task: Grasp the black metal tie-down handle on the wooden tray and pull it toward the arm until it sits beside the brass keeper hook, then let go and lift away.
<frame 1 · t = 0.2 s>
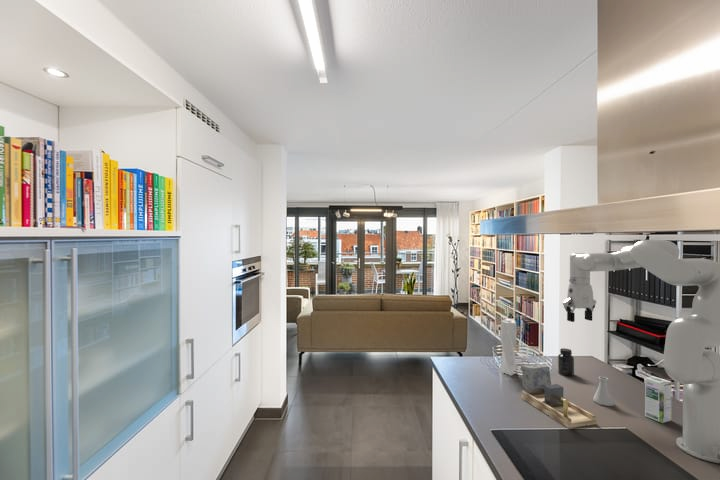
hand: (579, 320, 152), 31 cm above the kitchen island, tool pointing down, fingers open, 9 cm apart
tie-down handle: (553, 395, 136), point 5 cm above the kitchen island, slide at 0.0 cm
supplement bottle: (566, 374, 172), on the kitchen island
grey stone block: (535, 388, 155), on the kitchen island
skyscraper: (508, 373, 173), on the kitchen island
flask: (603, 403, 141), on the kitchen island
syrup box: (658, 419, 129), on the kitchen island
wooden tray: (555, 410, 135), on the kitchen island
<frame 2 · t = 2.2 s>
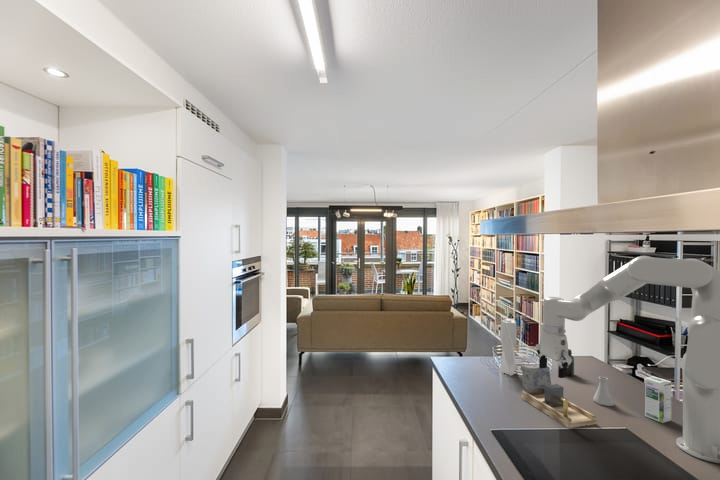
hand: (552, 372, 136), 14 cm above the kitchen island, tool pointing down, fingers open, 9 cm apart
nothing on the kitchen island moved.
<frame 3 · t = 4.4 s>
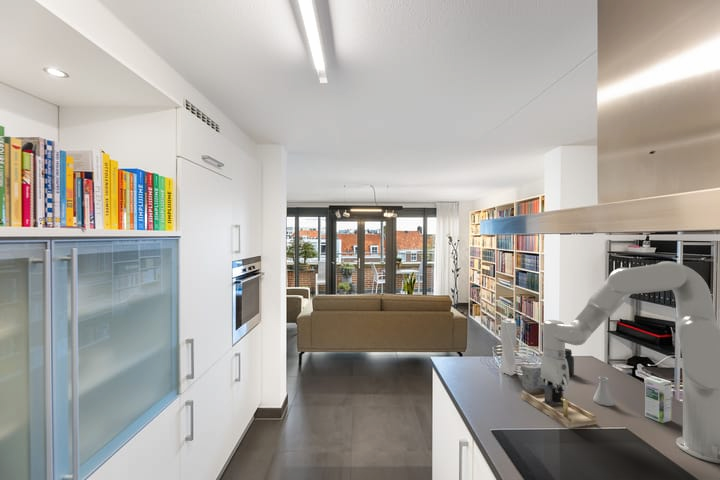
hand: (553, 399, 136), 4 cm above the kitchen island, tool pointing down, fingers closed on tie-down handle, 3 cm apart
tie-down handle: (553, 395, 136), point 5 cm above the kitchen island, slide at 0.0 cm, touching gripper
everything else where it was.
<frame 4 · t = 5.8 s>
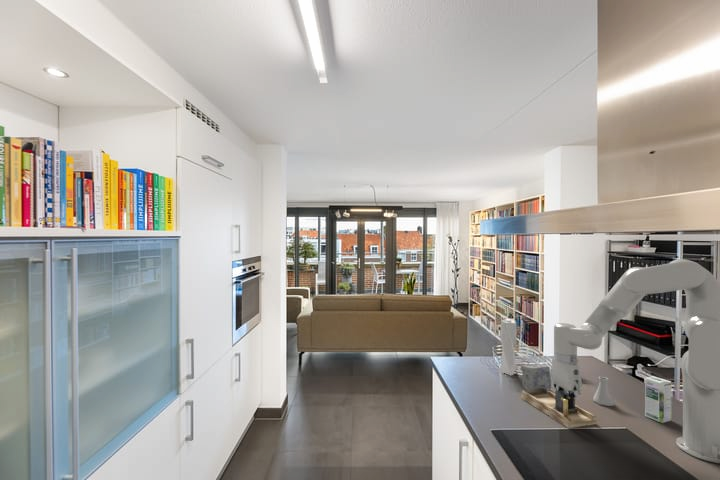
hand: (565, 405, 130), 4 cm above the kitchen island, tool pointing down, fingers closed on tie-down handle, 3 cm apart
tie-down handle: (565, 401, 130), point 5 cm above the kitchen island, slide at 5.5 cm, touching gripper
everything else where it was.
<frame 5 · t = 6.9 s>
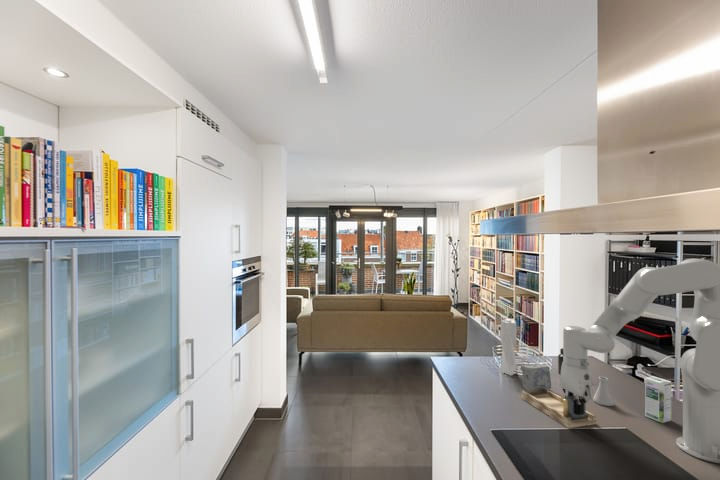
hand: (575, 411, 126), 4 cm above the kitchen island, tool pointing down, fingers closed on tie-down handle, 3 cm apart
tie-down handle: (575, 407, 126), point 5 cm above the kitchen island, slide at 9.9 cm, touching gripper
everything else where it was.
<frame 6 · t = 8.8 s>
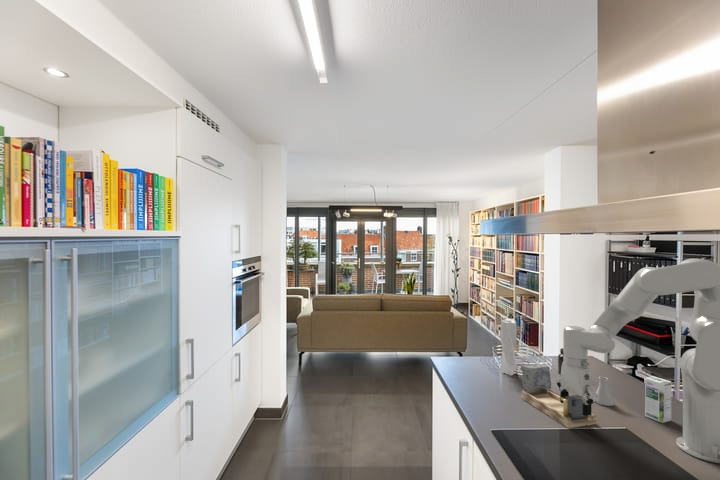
hand: (575, 408, 126), 5 cm above the kitchen island, tool pointing down, fingers open, 9 cm apart
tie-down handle: (575, 407, 126), point 5 cm above the kitchen island, slide at 10.0 cm
everything else where it was.
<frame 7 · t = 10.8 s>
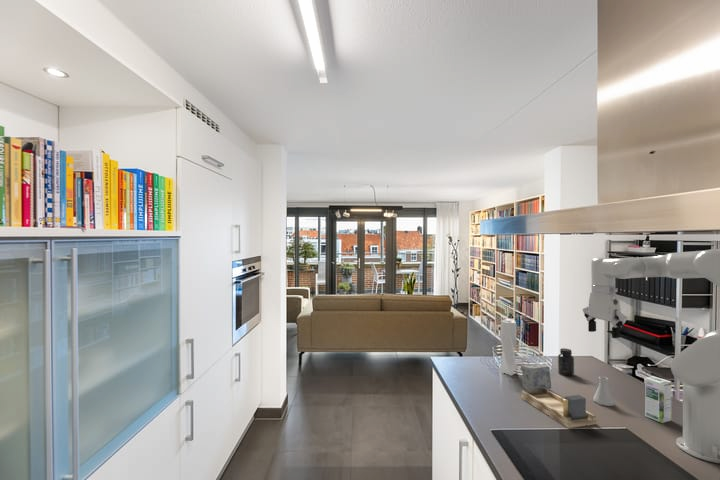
hand: (603, 334, 134), 30 cm above the kitchen island, tool pointing down, fingers open, 9 cm apart
nothing on the kitchen island moved.
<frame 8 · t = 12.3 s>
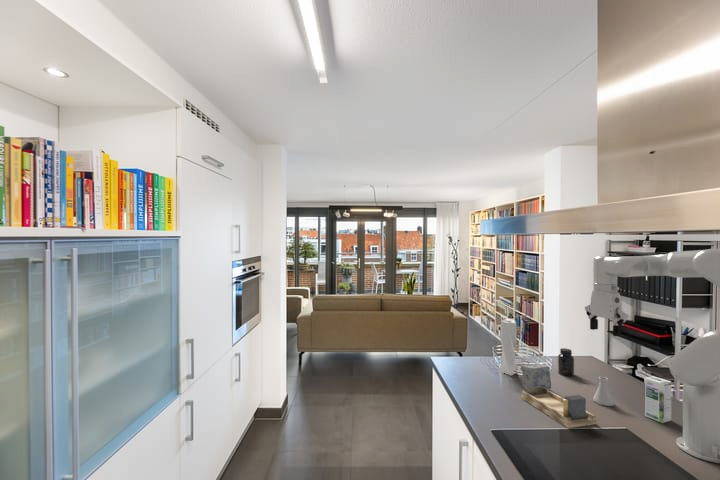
hand: (605, 332, 134), 30 cm above the kitchen island, tool pointing down, fingers open, 9 cm apart
nothing on the kitchen island moved.
at the end: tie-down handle slide at 10.0 cm; the gripper is holding nothing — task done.
